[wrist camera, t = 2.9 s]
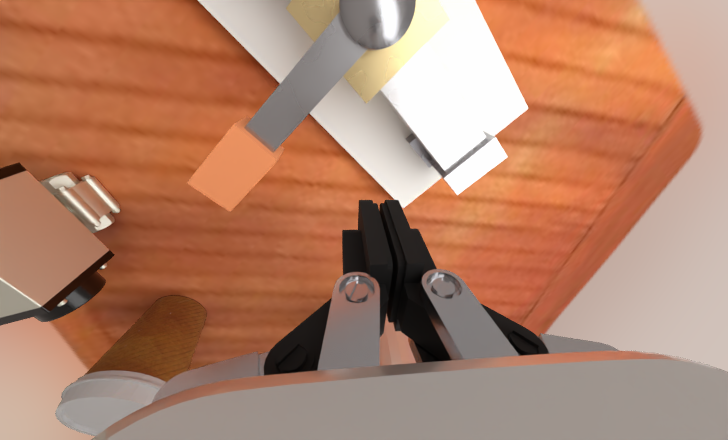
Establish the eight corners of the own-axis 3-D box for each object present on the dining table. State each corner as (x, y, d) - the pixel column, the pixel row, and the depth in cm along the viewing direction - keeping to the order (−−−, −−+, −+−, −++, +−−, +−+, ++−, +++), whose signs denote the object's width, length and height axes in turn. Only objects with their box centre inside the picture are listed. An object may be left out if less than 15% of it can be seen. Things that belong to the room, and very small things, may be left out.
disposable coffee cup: (204, 282, 31) (141, 388, 21) (229, 330, 36) (187, 433, 26) (123, 289, 31) (19, 402, 21) (160, 337, 36) (90, 445, 26)
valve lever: (375, -55, 11) (382, -78, 9) (417, 14, 13) (431, 6, 11) (199, 165, 16) (180, 179, 14) (246, 198, 17) (234, 215, 15)
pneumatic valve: (62, 127, 21) (-190, 188, 11) (157, 236, 27) (52, 339, 17) (3, 144, 21) (-295, 220, 11) (110, 249, 28) (-20, 357, 18)
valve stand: (518, 105, 24) (592, 124, 17) (400, 201, 28) (420, 247, 21) (257, -400, 11) (130, -1131, 4) (116, -88, 15) (-59, -207, 9)
